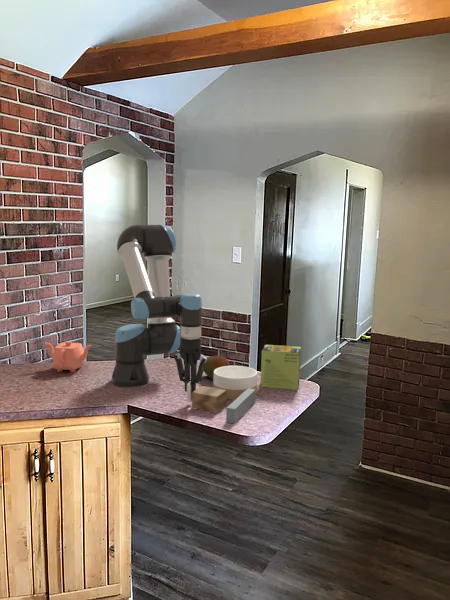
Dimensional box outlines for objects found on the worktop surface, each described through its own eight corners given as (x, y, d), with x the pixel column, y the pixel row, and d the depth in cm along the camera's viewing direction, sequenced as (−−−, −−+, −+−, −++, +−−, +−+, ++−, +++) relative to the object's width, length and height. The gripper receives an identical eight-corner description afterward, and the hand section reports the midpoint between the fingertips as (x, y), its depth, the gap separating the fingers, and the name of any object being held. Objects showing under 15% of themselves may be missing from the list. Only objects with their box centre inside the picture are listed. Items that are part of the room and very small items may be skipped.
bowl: (265, 392, 204) (266, 372, 202) (235, 402, 192) (236, 381, 190) (234, 382, 216) (234, 363, 214) (204, 391, 203) (204, 371, 202)
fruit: (220, 384, 212) (220, 360, 211) (195, 378, 219) (195, 356, 217) (234, 377, 222) (235, 354, 221) (210, 372, 229) (210, 350, 227)
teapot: (45, 367, 231) (44, 340, 229) (81, 362, 240) (80, 335, 238) (56, 376, 219) (55, 347, 217) (93, 370, 228) (93, 342, 226)
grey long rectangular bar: (226, 421, 173) (226, 407, 172) (247, 401, 193) (247, 388, 193) (234, 423, 172) (235, 409, 171) (255, 402, 192) (255, 389, 191)
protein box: (298, 390, 207) (299, 352, 204) (260, 387, 210) (261, 350, 207) (299, 382, 217) (301, 346, 214) (263, 379, 220) (264, 344, 217)
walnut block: (191, 408, 185) (191, 392, 184) (202, 401, 192) (202, 385, 192) (216, 413, 181) (217, 396, 180) (226, 405, 188) (226, 390, 187)
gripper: (169, 337, 184) (169, 401, 187) (202, 341, 179) (202, 406, 182) (179, 333, 190) (178, 394, 194) (211, 336, 186) (210, 399, 189)
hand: (190, 400), depth 188 cm, fingers closed
